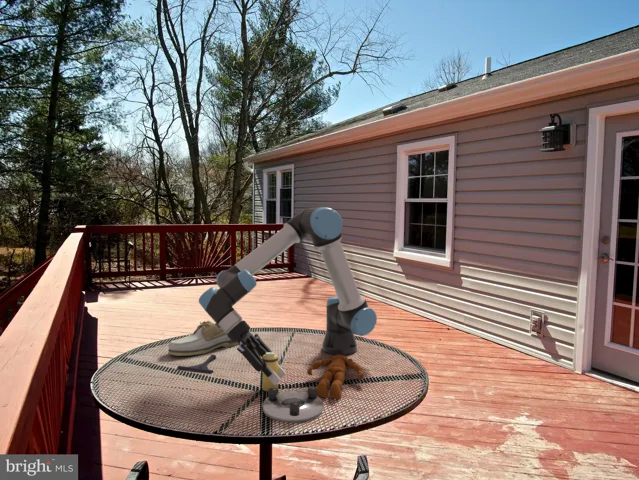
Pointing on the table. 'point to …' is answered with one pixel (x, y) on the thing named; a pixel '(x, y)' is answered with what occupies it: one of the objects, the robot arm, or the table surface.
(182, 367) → the bracket
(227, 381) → the table surface
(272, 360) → the travel mug
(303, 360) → the table surface
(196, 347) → the boat shoe
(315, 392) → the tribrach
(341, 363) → the toy
